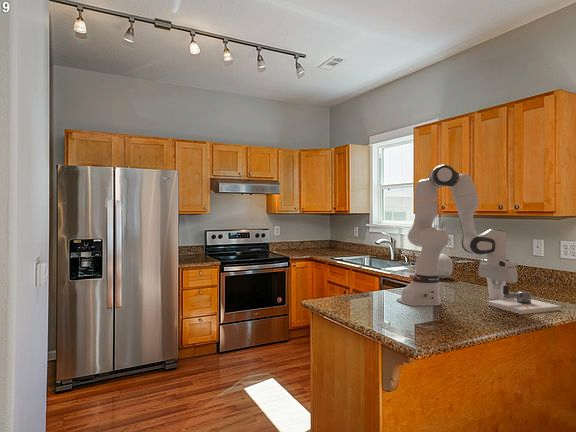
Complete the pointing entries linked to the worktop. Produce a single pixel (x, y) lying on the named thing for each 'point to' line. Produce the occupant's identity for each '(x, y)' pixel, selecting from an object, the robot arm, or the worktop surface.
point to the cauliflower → (444, 266)
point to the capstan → (518, 295)
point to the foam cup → (495, 290)
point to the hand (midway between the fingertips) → (496, 288)
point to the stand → (523, 306)
